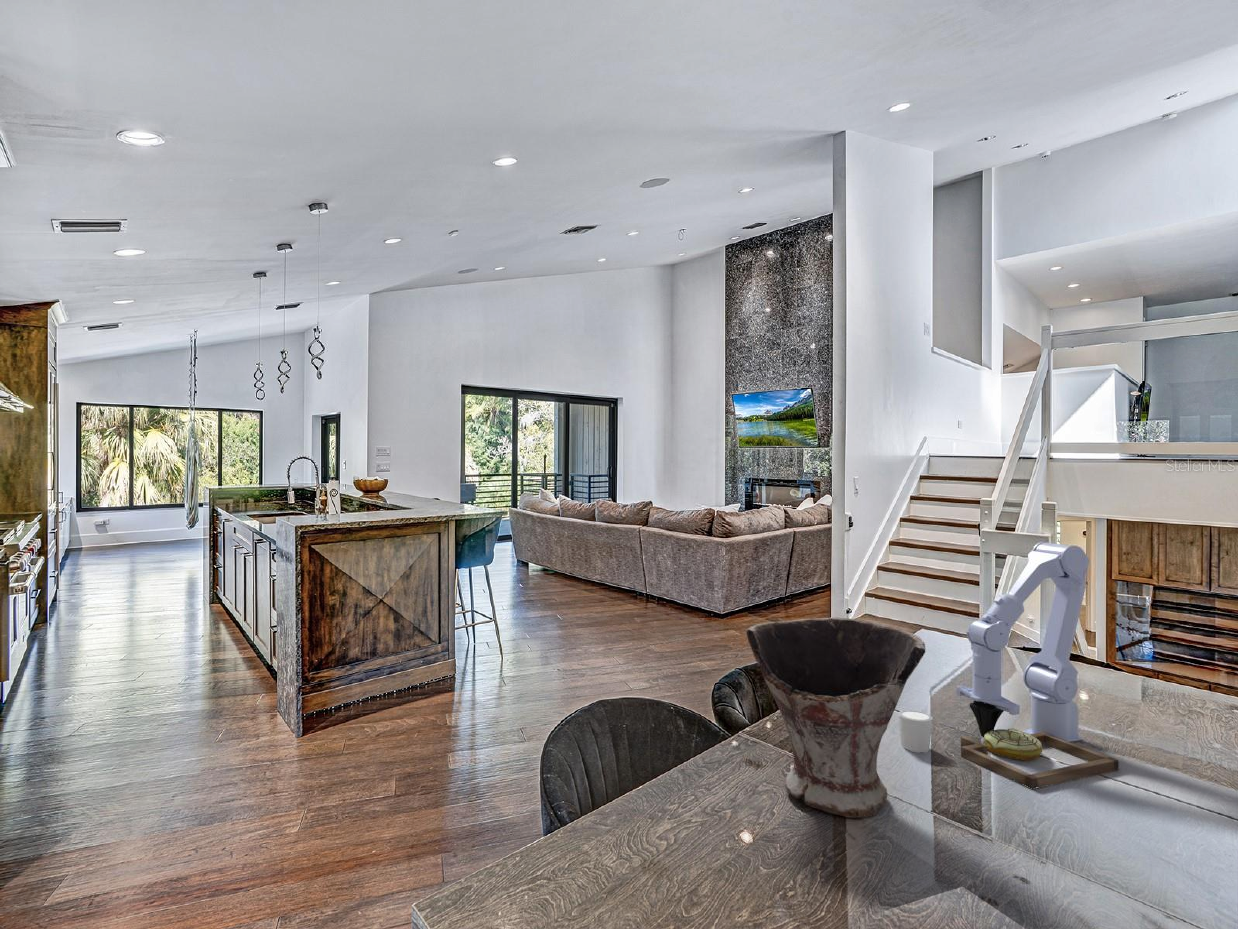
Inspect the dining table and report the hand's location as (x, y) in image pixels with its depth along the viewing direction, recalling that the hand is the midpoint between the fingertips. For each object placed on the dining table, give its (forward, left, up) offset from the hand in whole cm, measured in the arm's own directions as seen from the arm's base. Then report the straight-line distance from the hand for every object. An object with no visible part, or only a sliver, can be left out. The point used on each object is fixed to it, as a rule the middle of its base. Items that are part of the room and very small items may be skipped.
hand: (986, 736), depth 151 cm
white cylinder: (+18, -3, -1) cm, 18 cm away
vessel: (+49, +8, -1) cm, 50 cm away
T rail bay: (0, +10, -1) cm, 10 cm away
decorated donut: (0, +6, -1) cm, 6 cm away
